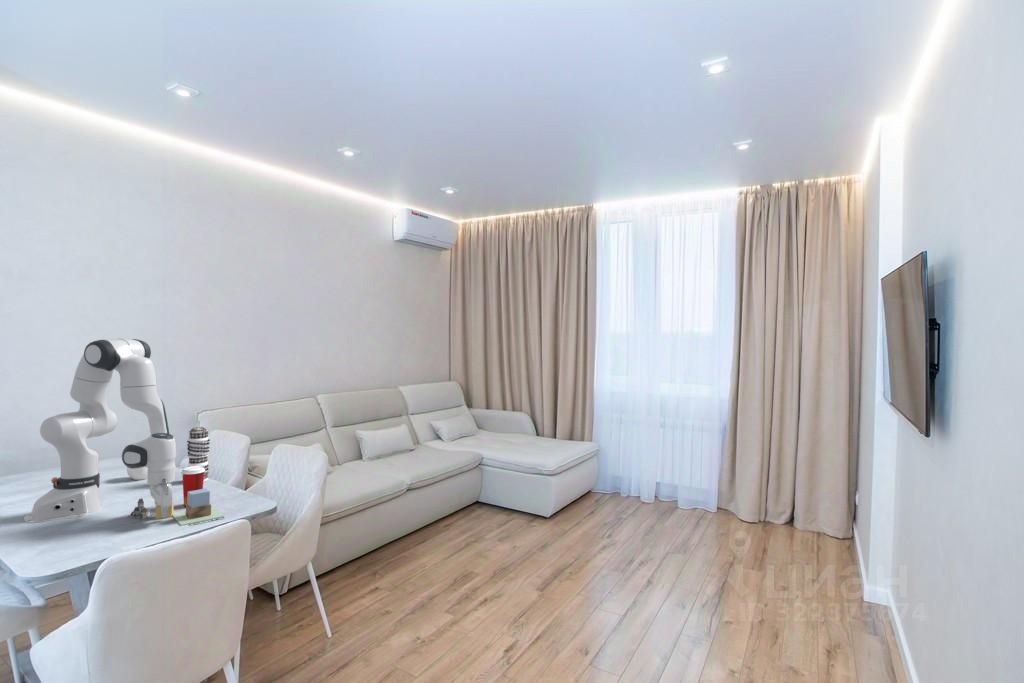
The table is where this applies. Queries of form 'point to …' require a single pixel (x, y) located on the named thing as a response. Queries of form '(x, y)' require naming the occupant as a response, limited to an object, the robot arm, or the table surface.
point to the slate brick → (198, 498)
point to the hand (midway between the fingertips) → (161, 513)
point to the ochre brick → (169, 512)
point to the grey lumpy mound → (140, 511)
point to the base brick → (198, 511)
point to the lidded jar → (137, 473)
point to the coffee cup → (192, 480)
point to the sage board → (184, 520)
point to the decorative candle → (198, 448)
